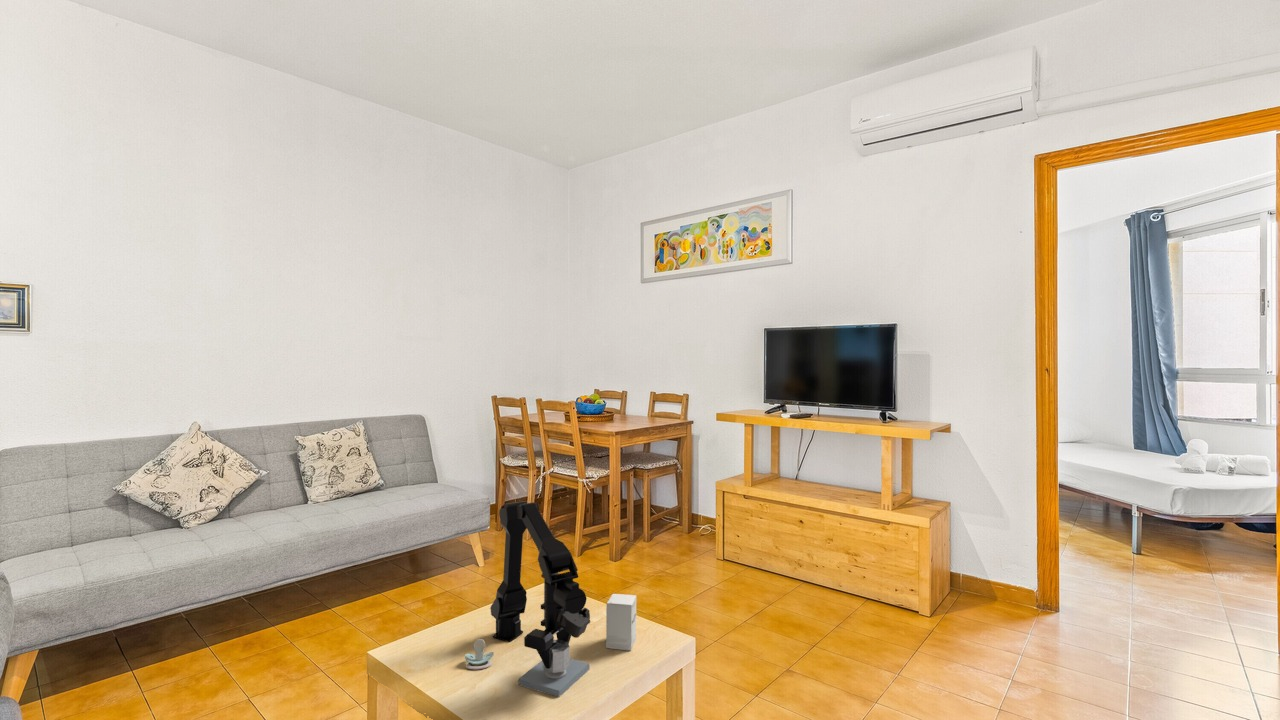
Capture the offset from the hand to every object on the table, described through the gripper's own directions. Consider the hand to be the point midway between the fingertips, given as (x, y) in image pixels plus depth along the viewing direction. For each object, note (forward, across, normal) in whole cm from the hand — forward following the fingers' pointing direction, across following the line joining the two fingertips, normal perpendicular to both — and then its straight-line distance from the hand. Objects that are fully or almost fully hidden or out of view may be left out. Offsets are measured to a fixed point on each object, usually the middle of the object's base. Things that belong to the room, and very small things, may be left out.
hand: (555, 661), depth 148 cm
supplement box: (+5, +24, -6) cm, 25 cm away
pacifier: (+5, -2, +22) cm, 23 cm away
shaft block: (+4, +1, +1) cm, 5 cm away
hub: (+1, 0, 0) cm, 1 cm away
